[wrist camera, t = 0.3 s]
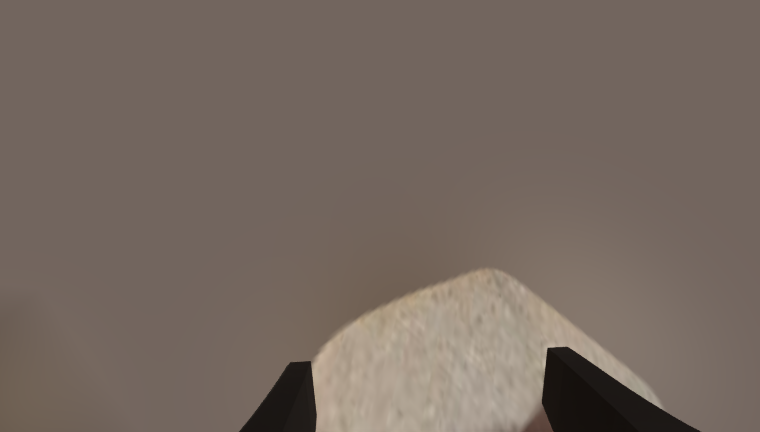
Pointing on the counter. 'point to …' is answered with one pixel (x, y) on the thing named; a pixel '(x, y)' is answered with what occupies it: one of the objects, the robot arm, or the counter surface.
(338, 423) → the counter surface
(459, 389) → the counter surface
